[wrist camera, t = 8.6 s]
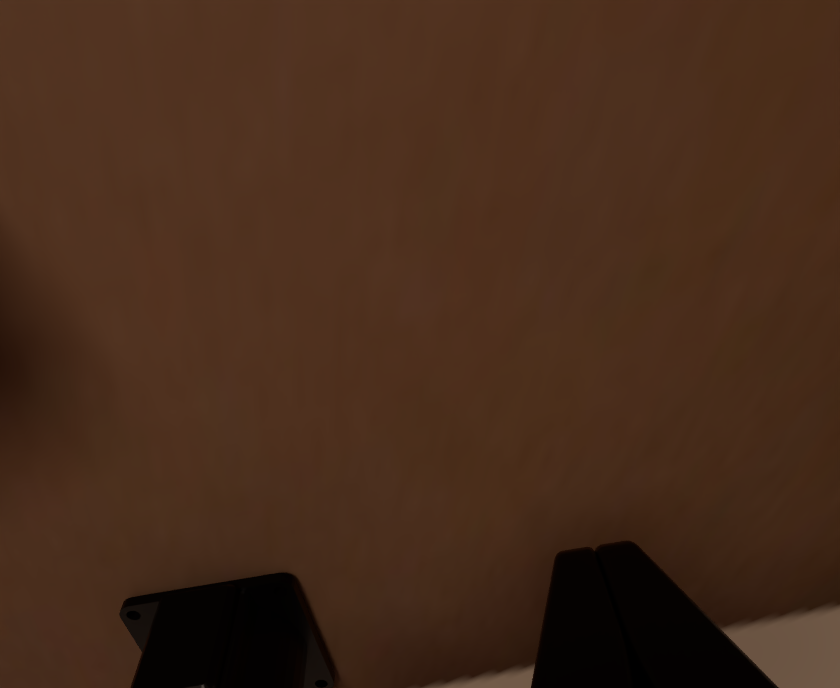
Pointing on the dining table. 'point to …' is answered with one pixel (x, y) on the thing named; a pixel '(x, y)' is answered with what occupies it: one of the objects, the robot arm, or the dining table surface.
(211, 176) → the dining table surface
